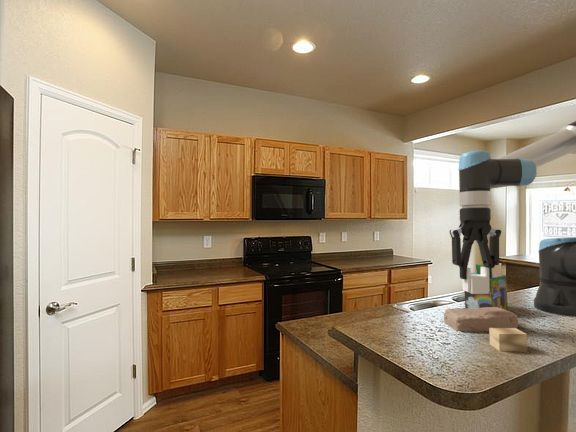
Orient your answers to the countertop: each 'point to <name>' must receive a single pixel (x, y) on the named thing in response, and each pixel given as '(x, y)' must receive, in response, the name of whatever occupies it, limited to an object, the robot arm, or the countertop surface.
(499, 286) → the chalk box
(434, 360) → the countertop surface
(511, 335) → the oak block
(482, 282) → the beige cube
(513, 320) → the brick
